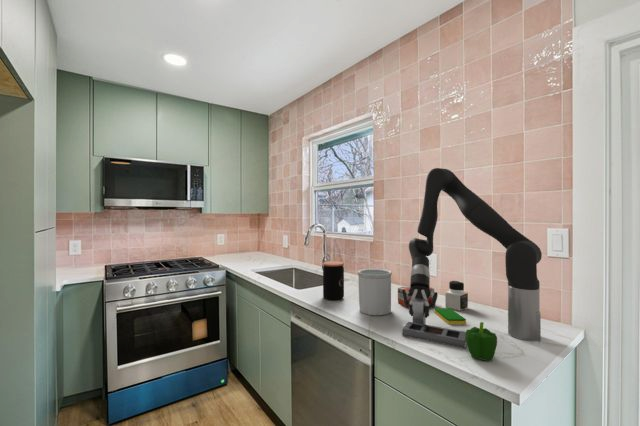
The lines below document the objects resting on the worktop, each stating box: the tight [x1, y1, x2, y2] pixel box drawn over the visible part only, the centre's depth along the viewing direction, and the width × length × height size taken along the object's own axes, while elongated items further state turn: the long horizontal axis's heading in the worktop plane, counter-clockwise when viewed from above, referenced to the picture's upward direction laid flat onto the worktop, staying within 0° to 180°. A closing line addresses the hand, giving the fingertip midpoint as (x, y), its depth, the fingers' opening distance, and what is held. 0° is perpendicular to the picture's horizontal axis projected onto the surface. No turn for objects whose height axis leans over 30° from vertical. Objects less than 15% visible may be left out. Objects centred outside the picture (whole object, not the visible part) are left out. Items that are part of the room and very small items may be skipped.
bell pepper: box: [465, 321, 498, 362], centre depth 91 cm, size 8×8×10 cm
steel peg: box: [412, 297, 427, 325], centre depth 117 cm, size 4×4×10 cm
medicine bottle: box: [444, 280, 469, 312], centre depth 137 cm, size 7×7×12 cm
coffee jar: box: [322, 260, 345, 302], centre depth 154 cm, size 11×11×18 cm
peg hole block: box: [401, 321, 467, 349], centre depth 105 cm, size 20×8×2 cm, turn 59°
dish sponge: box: [433, 307, 467, 326], centre depth 124 cm, size 7×14×2 cm, turn 1°
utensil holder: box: [357, 268, 393, 316], centre depth 134 cm, size 15×15×18 cm
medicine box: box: [397, 285, 436, 309], centre depth 143 cm, size 15×8×8 cm, turn 106°
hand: (418, 315), depth 115 cm, fingers closed on steel peg, 4 cm apart
